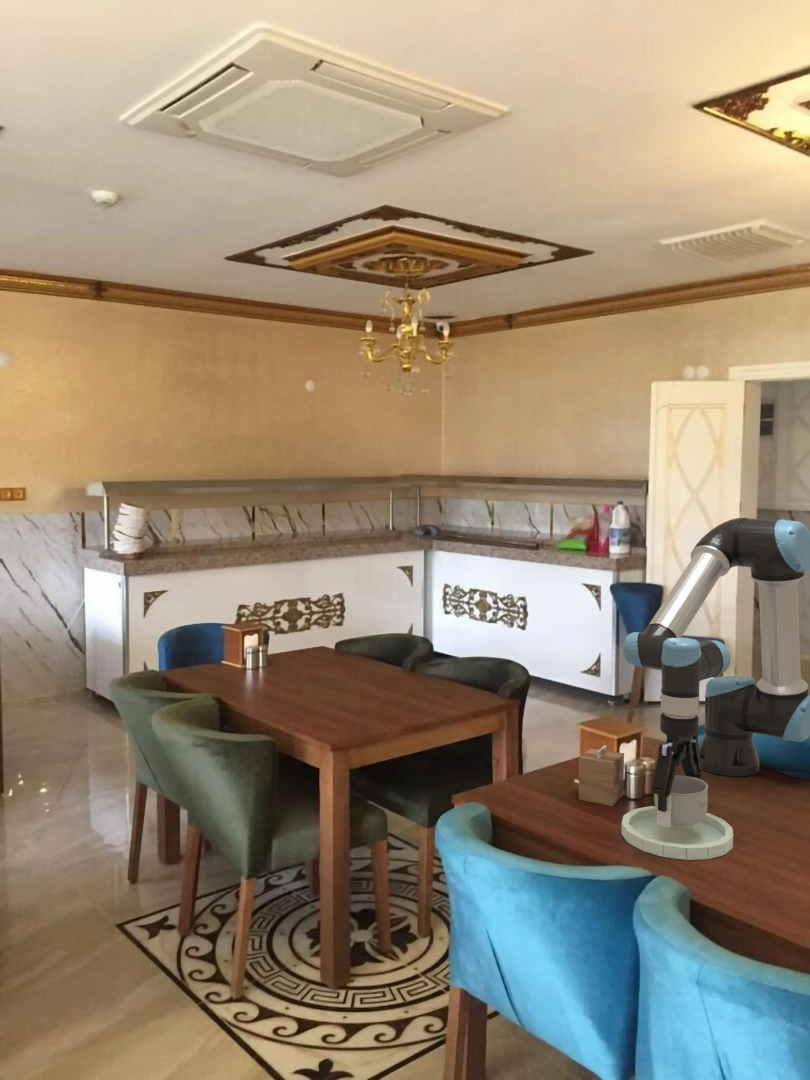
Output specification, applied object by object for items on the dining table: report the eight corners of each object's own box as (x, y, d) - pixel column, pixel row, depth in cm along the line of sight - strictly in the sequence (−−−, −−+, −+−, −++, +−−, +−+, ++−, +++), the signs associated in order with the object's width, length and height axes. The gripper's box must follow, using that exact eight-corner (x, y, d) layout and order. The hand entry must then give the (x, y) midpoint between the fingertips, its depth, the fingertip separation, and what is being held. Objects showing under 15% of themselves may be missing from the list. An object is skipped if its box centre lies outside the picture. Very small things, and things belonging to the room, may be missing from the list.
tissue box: (590, 788, 219) (591, 741, 218) (623, 795, 215) (624, 746, 214) (578, 799, 212) (579, 750, 211) (612, 806, 208) (613, 756, 207)
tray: (651, 808, 207) (651, 798, 206) (749, 834, 192) (749, 823, 192) (602, 839, 190) (603, 827, 190) (706, 869, 176) (706, 857, 176)
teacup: (710, 833, 184) (711, 794, 183) (654, 829, 186) (655, 790, 185) (701, 807, 197) (702, 770, 197) (649, 803, 199) (650, 767, 199)
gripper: (686, 699, 200) (683, 796, 202) (635, 723, 182) (633, 829, 184) (720, 705, 196) (717, 805, 197) (671, 730, 178) (668, 839, 179)
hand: (676, 817), depth 191 cm, fingers closed on teacup, 11 cm apart
